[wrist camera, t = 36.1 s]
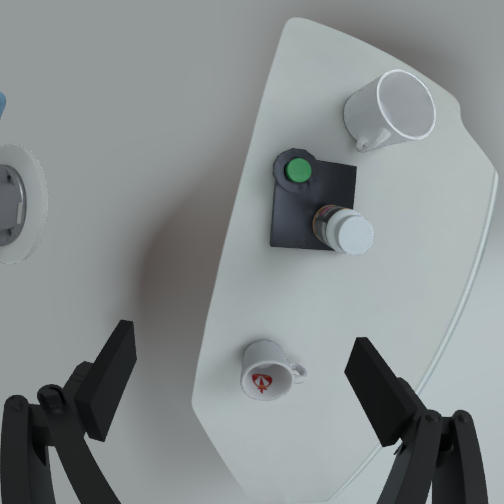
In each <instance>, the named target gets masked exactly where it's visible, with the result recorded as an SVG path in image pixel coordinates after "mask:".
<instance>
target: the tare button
mask: <svg viewBox="0 0 504 504" xmlns="http://www.w3.org/2000/svg"><path fill="white" fill-rule="evenodd" d="M285 173H286V176H287V177H288V179H289V180H291V181H293V182H304V181H306V180H307V179H308V178H309V177H310V175H311V166H310V164H309V163H308V162H307V161H306V160H304V159H302V158H297V159H294V160H291V161H290V162H289V163H288V164H287V165H286V168H285Z"/></svg>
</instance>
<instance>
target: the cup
mask: <svg viewBox="0 0 504 504" xmlns="http://www.w3.org/2000/svg"><path fill="white" fill-rule="evenodd" d="M292 370H296V371H297V372H298V373H299V374H300V375H296V374H294V373H293V371H292ZM306 377H307V372H306V370H305V368H304V367H303V366H301V365H300V364H298V363H293V362H288V361H287V359H286V357H285V355H284V353H283V352H282V350H281V348H280V347H279V346H278V345H277V344H275V343H273V342H271V341H266V340H262V341H257V342H255V343H253V344H251V345H250V346H249V347H248V348H247V349H246V351H245V353H244V355H243V361H242V371H241V380H240V383H241V387H242V390H243V391H244V392H245V394H247V395H248V396H249V397H251V398H253V399H256V400H261V401H269V400H274V399H277V398H280V397H281V396H283V395H285V394H286V393H287V392H288V391H289V390H290V389H291V387H292V385H293V384H299V383H303V382H304V381H305V380H306Z"/></svg>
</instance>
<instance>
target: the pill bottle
mask: <svg viewBox="0 0 504 504" xmlns="http://www.w3.org/2000/svg"><path fill="white" fill-rule="evenodd" d="M313 230H314V233H315V235H316V236H317V237H318V239H320V240H321V241H322V242H323V243H325V244H326V245H328V246H330V247H331V248H332V249H334V250H335V251H337V252H339V253H343V254H349V255H361V254H363V253H365V252H366V251H367V250H368V249H369V248H370V246H371V245H372V243H373V239H374V230H373V227H372V225H371V223H370V222H369V221H368V220H367V219H366V218H364V217H363V216H362V215H361V214H360V213H358V212H357V211H355V210H352V209H348V208H344V207H340V206H336V205H327V206H324V207H322V208H321V209H319V210H318V212H317V213H316V214H315V216H314V219H313Z"/></svg>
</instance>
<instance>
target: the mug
mask: <svg viewBox="0 0 504 504" xmlns="http://www.w3.org/2000/svg"><path fill="white" fill-rule="evenodd" d="M344 121H345V124H346V127H347V129H348V131H349V132H350V134H351V135H352V136H353V137H354V138H355V139H356V140H357V143H356V149H357V151H358V152H367V151H370V150H372V149H374V148H375V147H383V146H388V145H393V144H398V143H403V142H408V141H413V140H418V139H422V138H425V137H426V136H428V135H429V134H430V133H431V131H432V130H433V128H434V125H435V122H436V110H435V104H434V102H433V99H432V96H431V94H430V93H429V91H428V89H427V88H426V86H425V85H424V84H423V83H422V82H421V81H420V80H419V79H418V78H417V77H415V76H414V75H412V74H410V73H408V72H406V71H402V70H391V71H388V72H386V73H384V74H383V75H381V76H380V77H378V78H377V79H375V80H374V81H372V82H371V83H369V84H368V85H366V86H365V87H363V88H362V89H360V90H359V91H357V92H356V93H354V94H353V95H352V96H351V97H350V98H349V99H348V101H347V102H346V105H345V107H344ZM363 145H366V146H365V147H362V146H363Z"/></svg>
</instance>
